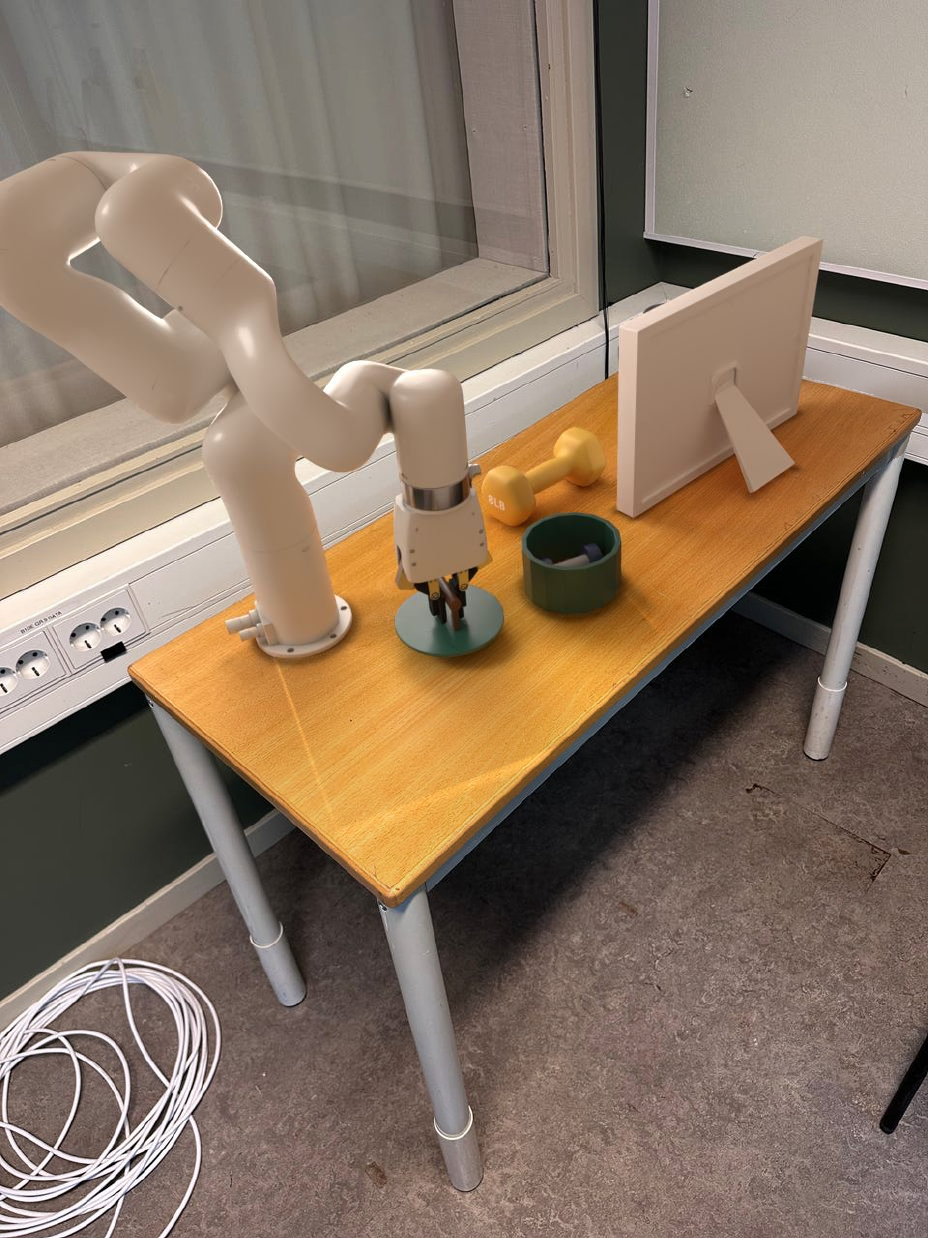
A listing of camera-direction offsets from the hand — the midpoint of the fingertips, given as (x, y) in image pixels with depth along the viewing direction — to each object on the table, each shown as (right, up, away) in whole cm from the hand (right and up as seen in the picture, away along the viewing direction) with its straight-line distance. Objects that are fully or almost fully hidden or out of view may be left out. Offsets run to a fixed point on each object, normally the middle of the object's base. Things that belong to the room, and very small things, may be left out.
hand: (448, 613), depth 108 cm
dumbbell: (+14, +17, +25) cm, 33 cm away
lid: (0, -1, +1) cm, 1 cm away
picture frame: (+43, +22, +26) cm, 55 cm away
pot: (+16, +4, +8) cm, 18 cm away
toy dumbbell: (+16, +4, +8) cm, 18 cm away
